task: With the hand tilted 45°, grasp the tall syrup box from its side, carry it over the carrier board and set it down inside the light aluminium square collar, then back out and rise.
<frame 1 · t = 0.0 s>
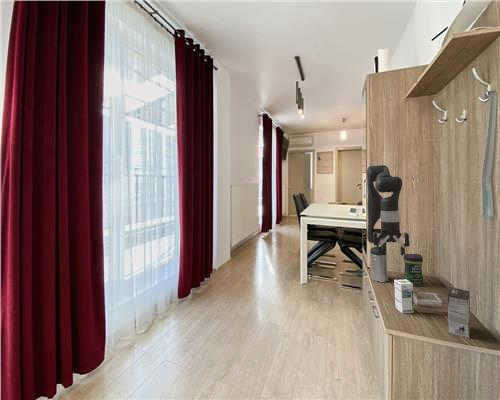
hand: (391, 254, 109), 29 cm above the table, tool pointing down, fingers open, 8 cm apart
socket collar: (426, 302, 118), resting on carrier board
coffee jar: (413, 284, 142), on the table
carrier board: (427, 303, 119), on the table
syrup box: (404, 310, 115), on the table
coffee box: (459, 330, 97), on the table
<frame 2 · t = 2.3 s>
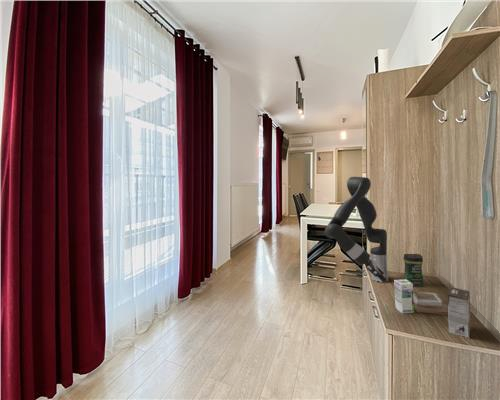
hand: (383, 277, 117), 16 cm above the table, tool tilted 45°, fingers open, 8 cm apart
nothing on the table moved.
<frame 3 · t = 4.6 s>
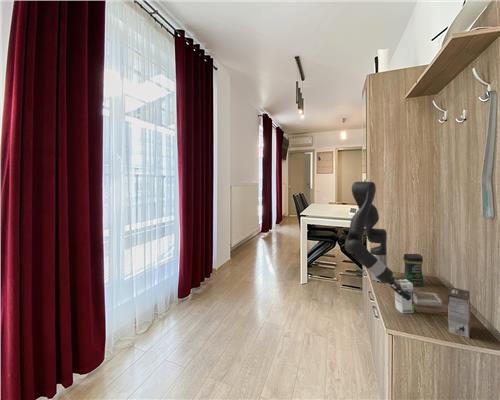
hand: (407, 295, 114), 7 cm above the table, tool tilted 45°, fingers closed on syrup box, 7 cm apart
syrup box: (404, 310, 115), on the table, touching gripper
everything else where it was.
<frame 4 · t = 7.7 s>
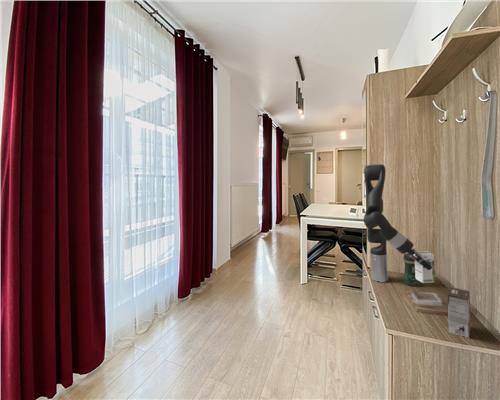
hand: (428, 266, 116), 20 cm above the table, tool tilted 45°, fingers closed on syrup box, 7 cm apart
syrup box: (424, 281, 117), point 12 cm above the table, touching gripper
everything else where it was.
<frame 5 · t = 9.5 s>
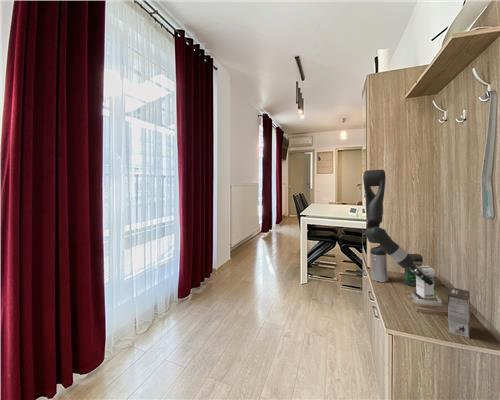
hand: (429, 281, 117), 12 cm above the table, tool tilted 45°, fingers closed on syrup box, 7 cm apart
syrup box: (425, 296, 117), point 5 cm above the table, touching gripper
everything else where it was.
when the fingers open (10 cm above the table, at t = 10.7 s): syrup box drops 1 cm, resting on carrier board.
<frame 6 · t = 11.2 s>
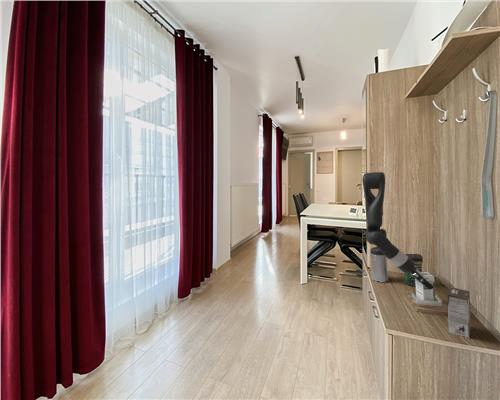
hand: (428, 284, 117), 11 cm above the table, tool tilted 45°, fingers open, 8 cm apart
syrup box: (425, 302, 118), point 1 cm above the table, touching carrier board
everything else where it was.
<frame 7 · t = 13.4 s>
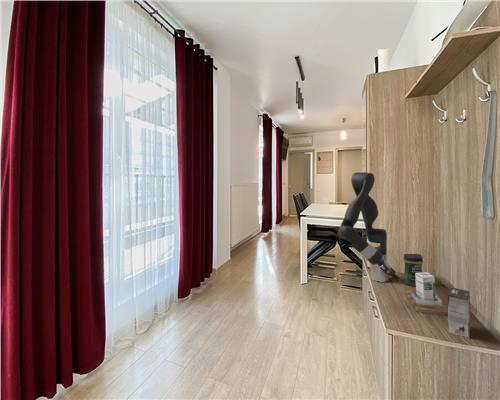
hand: (396, 276, 122), 14 cm above the table, tool tilted 45°, fingers open, 8 cm apart
nothing on the table moved.
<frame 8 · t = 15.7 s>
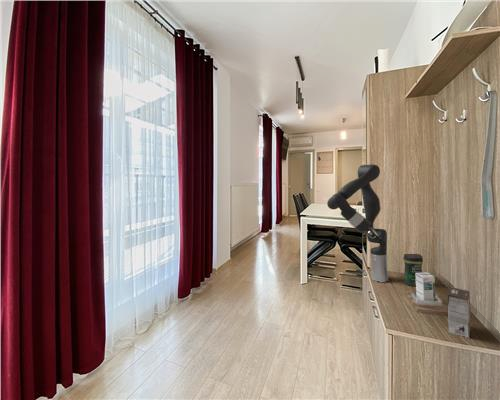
hand: (383, 243, 125), 31 cm above the table, tool tilted 45°, fingers open, 8 cm apart
nothing on the table moved.
at the end: syrup box 0.2 cm from the target spot, point 1.3 cm above the table; syrup box tilted 0°; the gripper is holding nothing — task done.
